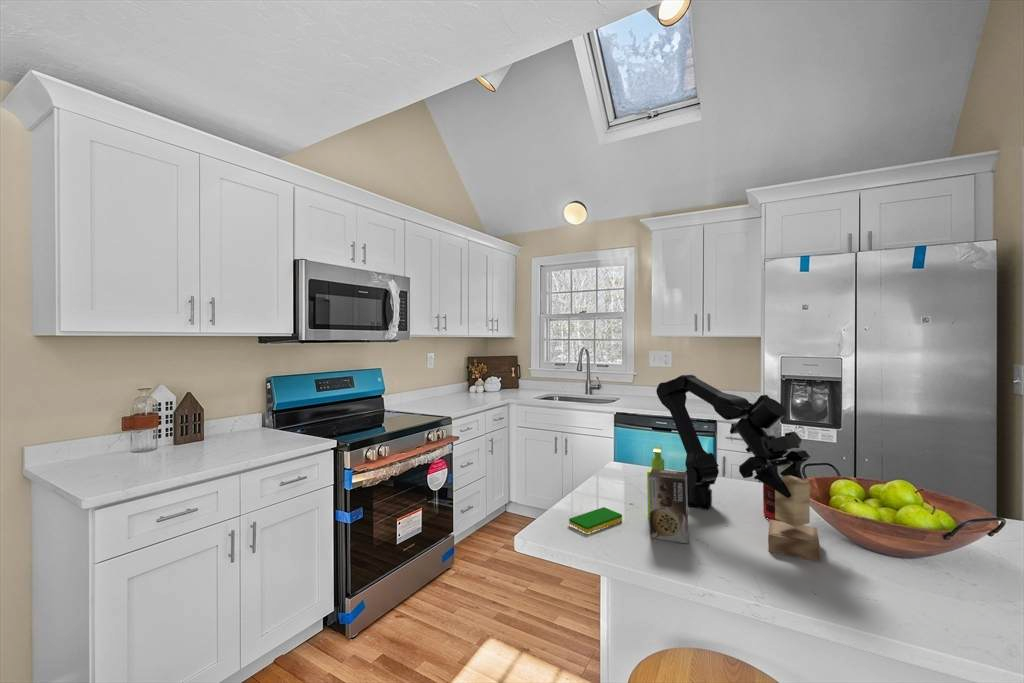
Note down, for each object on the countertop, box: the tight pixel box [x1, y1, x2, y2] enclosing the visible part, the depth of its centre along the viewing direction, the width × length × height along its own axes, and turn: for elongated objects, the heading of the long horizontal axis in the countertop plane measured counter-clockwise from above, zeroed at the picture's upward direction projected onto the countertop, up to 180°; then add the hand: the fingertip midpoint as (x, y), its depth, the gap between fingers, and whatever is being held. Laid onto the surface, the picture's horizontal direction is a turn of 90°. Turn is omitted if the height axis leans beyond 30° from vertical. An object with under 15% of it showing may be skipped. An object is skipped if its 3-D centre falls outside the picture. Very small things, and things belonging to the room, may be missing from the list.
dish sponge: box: [568, 507, 623, 533], centre depth 122 cm, size 7×14×2 cm, turn 125°
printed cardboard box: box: [648, 468, 690, 544], centre depth 114 cm, size 9×6×16 cm
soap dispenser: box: [646, 445, 666, 519], centre depth 125 cm, size 6×7×20 cm
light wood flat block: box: [767, 519, 821, 563], centre depth 107 cm, size 10×10×4 cm
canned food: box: [762, 474, 782, 521], centre depth 124 cm, size 8×8×11 cm
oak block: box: [775, 475, 811, 527], centre depth 107 cm, size 5×5×10 cm
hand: (797, 495), depth 105 cm, fingers closed on oak block, 5 cm apart
